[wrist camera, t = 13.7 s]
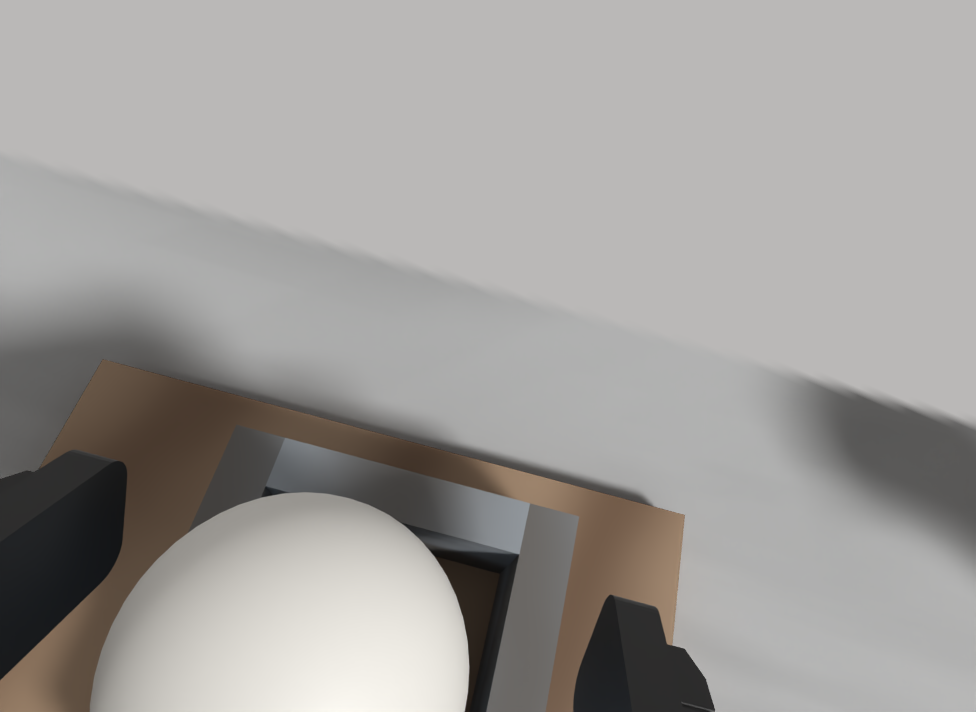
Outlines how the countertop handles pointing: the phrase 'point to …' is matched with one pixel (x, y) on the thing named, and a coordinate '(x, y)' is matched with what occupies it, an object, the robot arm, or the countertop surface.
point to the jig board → (383, 485)
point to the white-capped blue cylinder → (289, 618)
